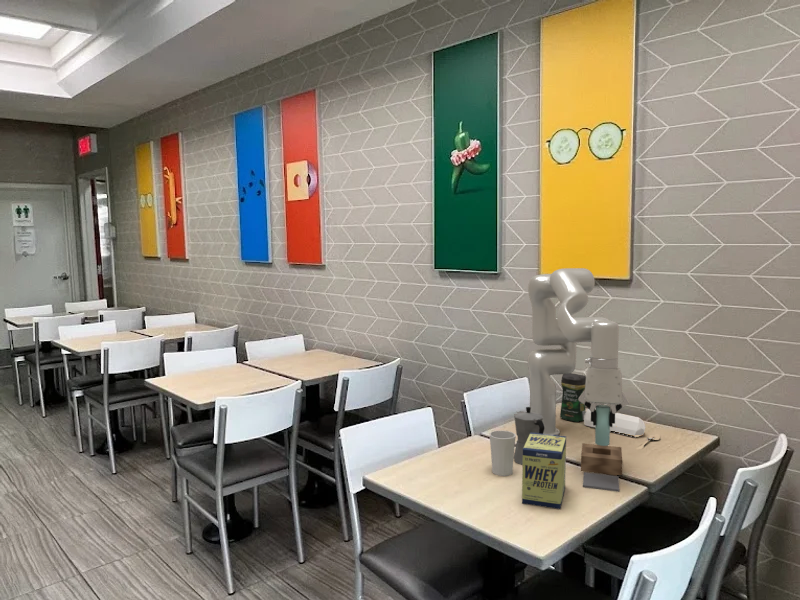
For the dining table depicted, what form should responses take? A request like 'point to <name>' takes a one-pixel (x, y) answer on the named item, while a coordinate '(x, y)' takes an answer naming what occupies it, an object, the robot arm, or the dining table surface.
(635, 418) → the white butter dish
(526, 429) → the coffeepot
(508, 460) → the cup
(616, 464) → the pocket block
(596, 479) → the mat
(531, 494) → the protein box
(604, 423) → the peg
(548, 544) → the dining table surface
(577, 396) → the coffee jar
